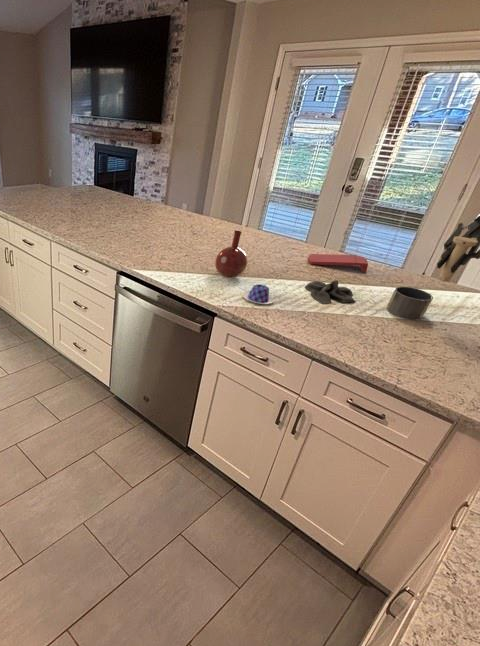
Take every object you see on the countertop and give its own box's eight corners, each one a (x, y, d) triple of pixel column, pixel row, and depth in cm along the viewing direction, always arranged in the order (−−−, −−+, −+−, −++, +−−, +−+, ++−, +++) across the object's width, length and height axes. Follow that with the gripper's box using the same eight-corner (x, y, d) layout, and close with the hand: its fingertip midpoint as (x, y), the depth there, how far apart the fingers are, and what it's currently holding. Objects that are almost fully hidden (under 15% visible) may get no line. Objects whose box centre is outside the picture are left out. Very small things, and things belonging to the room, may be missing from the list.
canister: (427, 314, 159) (437, 295, 154) (416, 322, 152) (426, 303, 148) (393, 302, 166) (402, 284, 162) (381, 310, 160) (389, 291, 155)
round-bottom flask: (232, 269, 190) (242, 226, 179) (249, 281, 179) (261, 235, 168) (207, 272, 186) (215, 228, 175) (223, 284, 175) (233, 237, 165)
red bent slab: (306, 271, 202) (366, 273, 192) (308, 261, 199) (369, 263, 189) (307, 263, 211) (364, 264, 201) (308, 253, 209) (366, 255, 199)
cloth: (303, 281, 182) (308, 267, 178) (350, 288, 177) (355, 275, 173) (306, 301, 164) (311, 287, 161) (358, 310, 159) (364, 295, 156)
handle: (433, 275, 151) (455, 235, 142) (455, 281, 147) (478, 240, 139) (432, 279, 148) (453, 238, 139) (453, 285, 144) (477, 243, 136)
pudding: (245, 290, 171) (248, 278, 168) (275, 296, 167) (279, 284, 164) (240, 301, 162) (243, 289, 159) (271, 308, 158) (275, 295, 155)
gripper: (523, 229, 137) (472, 283, 140) (467, 216, 149) (420, 266, 152) (526, 214, 132) (472, 270, 134) (467, 202, 144) (419, 254, 147)
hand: (445, 268), depth 143 cm, fingers closed on handle, 4 cm apart
